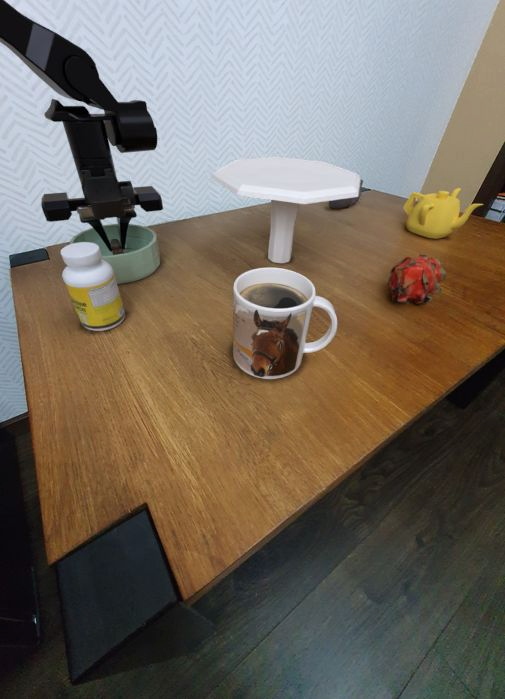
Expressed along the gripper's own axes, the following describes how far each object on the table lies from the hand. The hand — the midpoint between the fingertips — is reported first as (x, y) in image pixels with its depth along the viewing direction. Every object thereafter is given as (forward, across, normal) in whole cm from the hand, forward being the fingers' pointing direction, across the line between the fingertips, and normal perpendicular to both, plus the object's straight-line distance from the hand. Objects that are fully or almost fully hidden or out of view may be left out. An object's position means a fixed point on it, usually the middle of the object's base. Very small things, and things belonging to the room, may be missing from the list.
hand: (117, 249), depth 59 cm
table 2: (+3, +32, -8) cm, 33 cm away
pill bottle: (+4, -5, -17) cm, 18 cm away
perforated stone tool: (+3, +68, +16) cm, 69 cm away
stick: (+1, 0, 0) cm, 1 cm away
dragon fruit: (+3, +46, -32) cm, 56 cm away
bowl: (+3, 0, 0) cm, 3 cm away
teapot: (+3, +78, -10) cm, 78 cm away
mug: (+4, +16, -36) cm, 39 cm away
